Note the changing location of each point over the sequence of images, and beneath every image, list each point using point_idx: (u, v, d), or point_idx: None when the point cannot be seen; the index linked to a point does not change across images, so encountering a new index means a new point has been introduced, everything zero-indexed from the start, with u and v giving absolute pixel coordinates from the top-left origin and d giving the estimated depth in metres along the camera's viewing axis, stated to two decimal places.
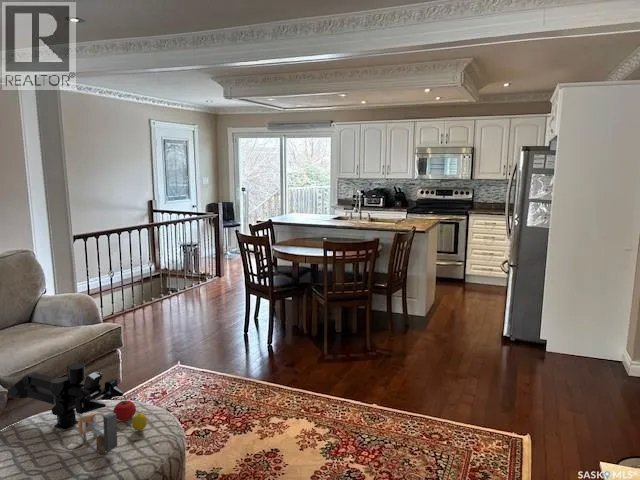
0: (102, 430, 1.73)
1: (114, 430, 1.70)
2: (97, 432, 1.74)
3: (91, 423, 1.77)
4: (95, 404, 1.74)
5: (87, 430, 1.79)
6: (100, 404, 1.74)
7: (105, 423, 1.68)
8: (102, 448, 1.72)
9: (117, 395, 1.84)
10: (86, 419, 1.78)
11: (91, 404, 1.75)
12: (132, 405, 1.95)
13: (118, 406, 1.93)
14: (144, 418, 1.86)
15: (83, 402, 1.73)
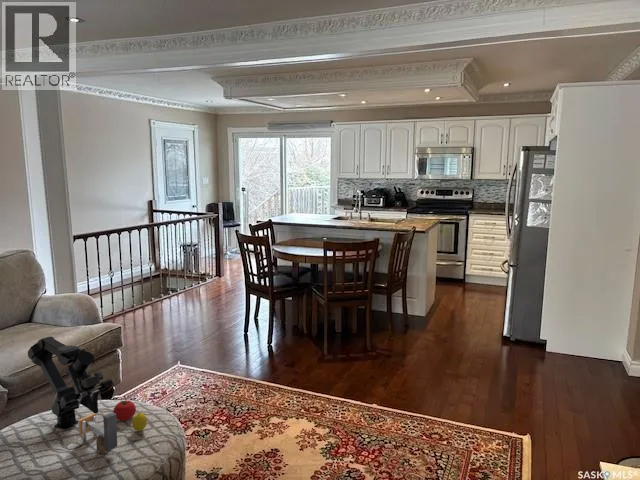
0: (102, 430, 1.73)
1: (114, 430, 1.70)
2: (97, 432, 1.74)
3: (91, 423, 1.77)
4: (89, 406, 1.74)
5: (87, 430, 1.79)
6: (93, 409, 1.74)
7: (105, 423, 1.68)
8: (102, 448, 1.72)
9: None
10: (86, 419, 1.78)
11: (87, 401, 1.75)
12: (132, 405, 1.95)
13: (118, 406, 1.93)
14: (144, 418, 1.86)
15: (81, 398, 1.73)
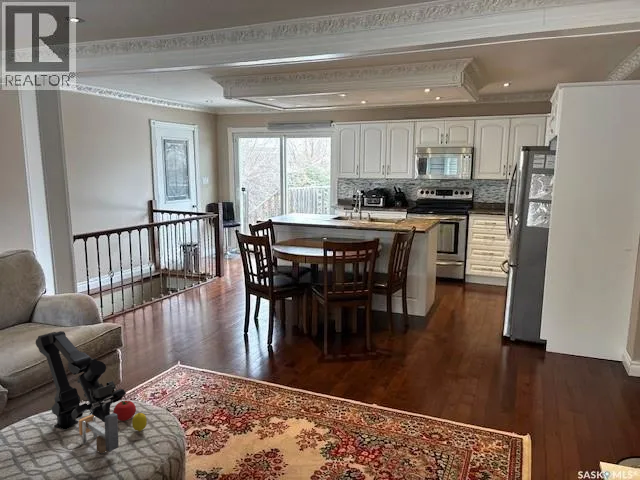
0: (103, 431, 1.73)
1: (115, 431, 1.70)
2: (98, 433, 1.73)
3: (92, 424, 1.77)
4: (101, 416, 1.70)
5: (87, 430, 1.79)
6: None
7: (107, 424, 1.67)
8: (102, 448, 1.72)
9: None
10: (86, 419, 1.78)
11: (99, 412, 1.71)
12: (132, 405, 1.95)
13: (118, 406, 1.93)
14: (144, 418, 1.86)
15: (93, 409, 1.68)
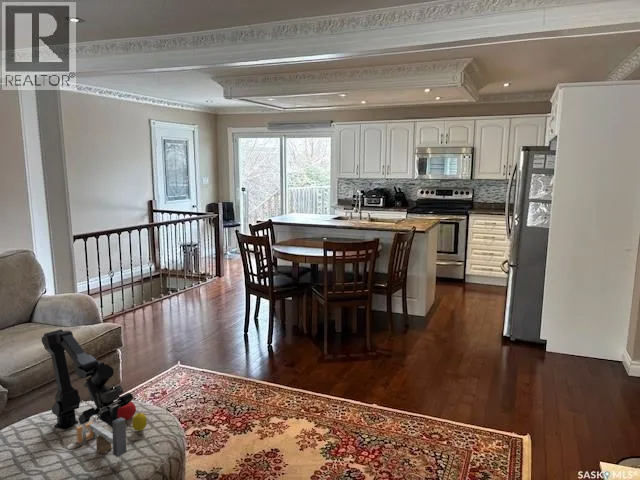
0: (111, 435, 1.70)
1: (123, 436, 1.67)
2: (106, 438, 1.71)
3: (99, 428, 1.74)
4: (109, 421, 1.67)
5: None
6: None
7: (114, 429, 1.65)
8: (102, 448, 1.72)
9: None
10: None
11: (106, 417, 1.68)
12: (132, 405, 1.95)
13: None
14: (144, 418, 1.86)
15: (100, 414, 1.66)
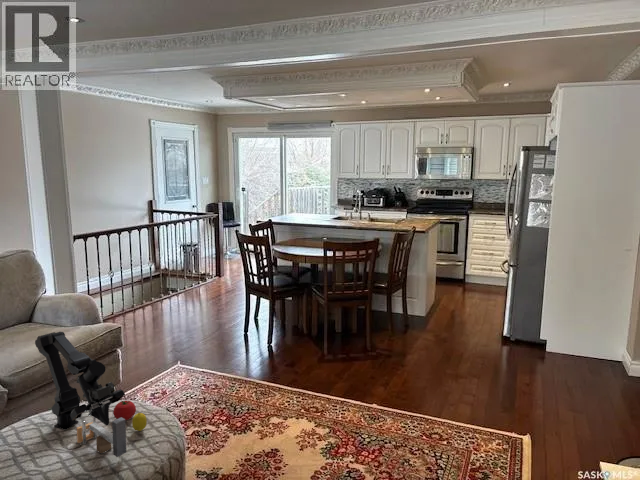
0: (111, 435, 1.70)
1: (123, 436, 1.67)
2: (106, 438, 1.71)
3: (99, 428, 1.74)
4: (100, 417, 1.70)
5: None
6: (104, 421, 1.70)
7: (114, 429, 1.65)
8: (102, 448, 1.72)
9: None
10: None
11: (97, 413, 1.71)
12: (132, 405, 1.95)
13: (118, 406, 1.93)
14: (144, 418, 1.86)
15: (92, 410, 1.69)
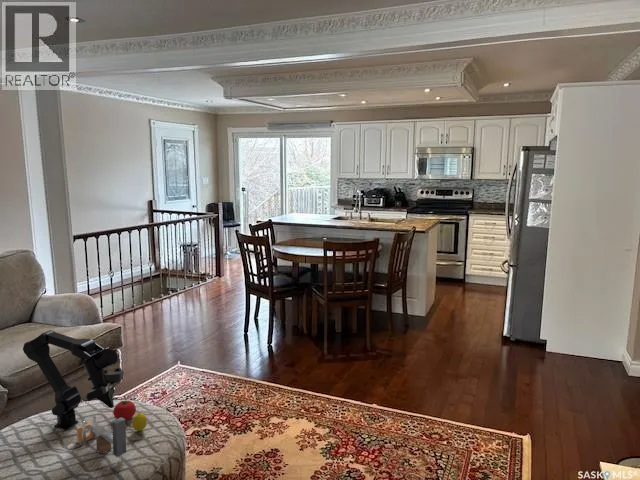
0: (111, 435, 1.70)
1: (123, 436, 1.67)
2: (106, 438, 1.71)
3: (99, 428, 1.74)
4: (107, 400, 1.80)
5: None
6: (110, 404, 1.81)
7: (114, 429, 1.65)
8: (102, 448, 1.72)
9: None
10: None
11: (104, 396, 1.80)
12: (132, 405, 1.95)
13: (118, 406, 1.93)
14: (144, 418, 1.86)
15: (104, 392, 1.78)
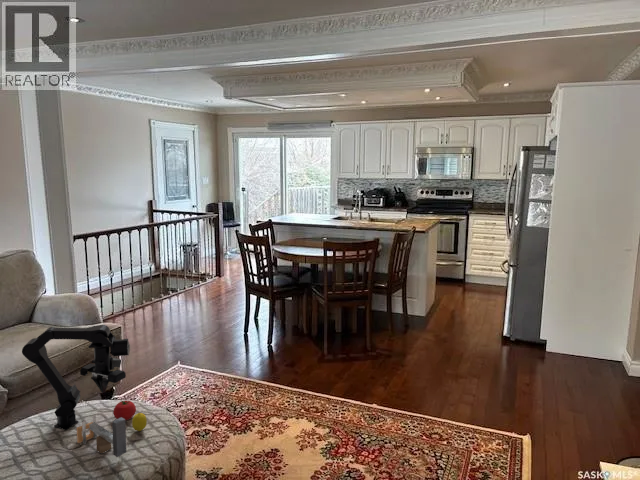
0: (111, 435, 1.70)
1: (123, 436, 1.67)
2: (106, 438, 1.71)
3: (99, 428, 1.74)
4: (106, 384, 1.90)
5: None
6: (105, 388, 1.91)
7: (114, 429, 1.65)
8: (102, 448, 1.72)
9: None
10: None
11: None
12: (132, 405, 1.95)
13: (118, 406, 1.93)
14: (144, 418, 1.86)
15: None
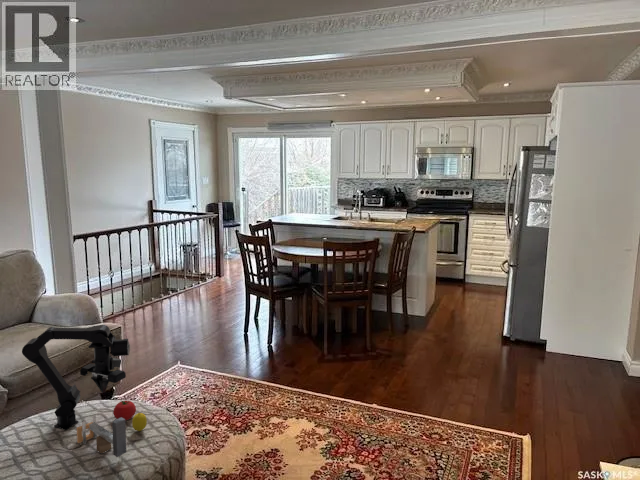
0: (111, 435, 1.70)
1: (123, 436, 1.67)
2: (106, 438, 1.71)
3: (99, 428, 1.74)
4: (106, 384, 1.90)
5: None
6: (105, 388, 1.91)
7: (114, 429, 1.65)
8: (102, 448, 1.72)
9: None
10: None
11: None
12: (132, 405, 1.95)
13: (118, 406, 1.93)
14: (144, 418, 1.86)
15: None
